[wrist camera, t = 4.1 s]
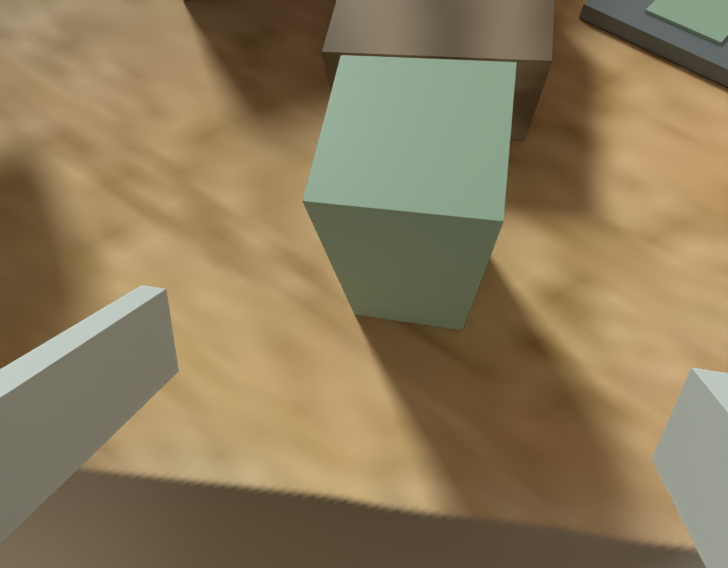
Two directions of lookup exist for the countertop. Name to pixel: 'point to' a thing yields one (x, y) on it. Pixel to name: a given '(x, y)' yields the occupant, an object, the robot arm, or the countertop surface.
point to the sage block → (412, 182)
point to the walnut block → (451, 38)
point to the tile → (670, 30)
